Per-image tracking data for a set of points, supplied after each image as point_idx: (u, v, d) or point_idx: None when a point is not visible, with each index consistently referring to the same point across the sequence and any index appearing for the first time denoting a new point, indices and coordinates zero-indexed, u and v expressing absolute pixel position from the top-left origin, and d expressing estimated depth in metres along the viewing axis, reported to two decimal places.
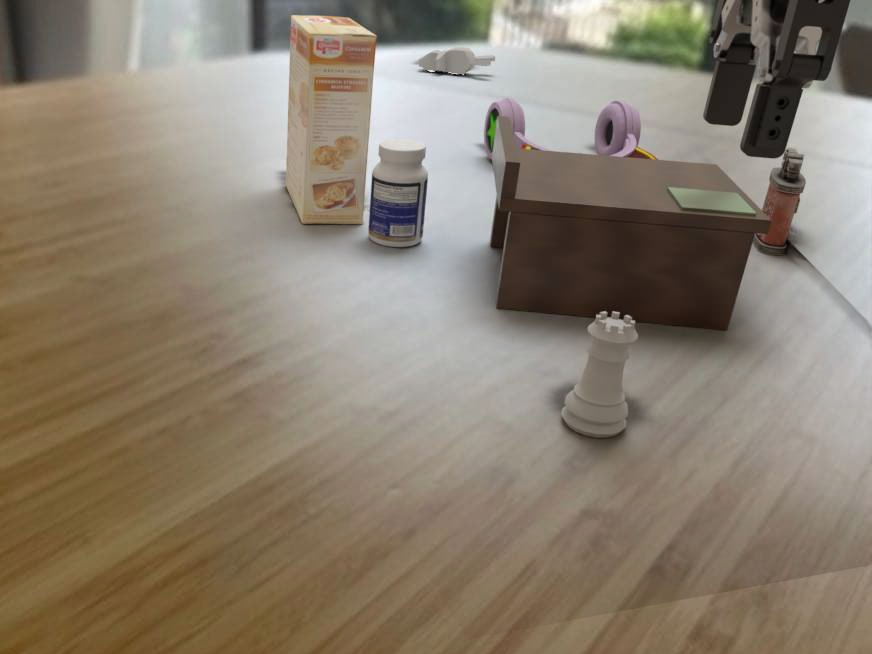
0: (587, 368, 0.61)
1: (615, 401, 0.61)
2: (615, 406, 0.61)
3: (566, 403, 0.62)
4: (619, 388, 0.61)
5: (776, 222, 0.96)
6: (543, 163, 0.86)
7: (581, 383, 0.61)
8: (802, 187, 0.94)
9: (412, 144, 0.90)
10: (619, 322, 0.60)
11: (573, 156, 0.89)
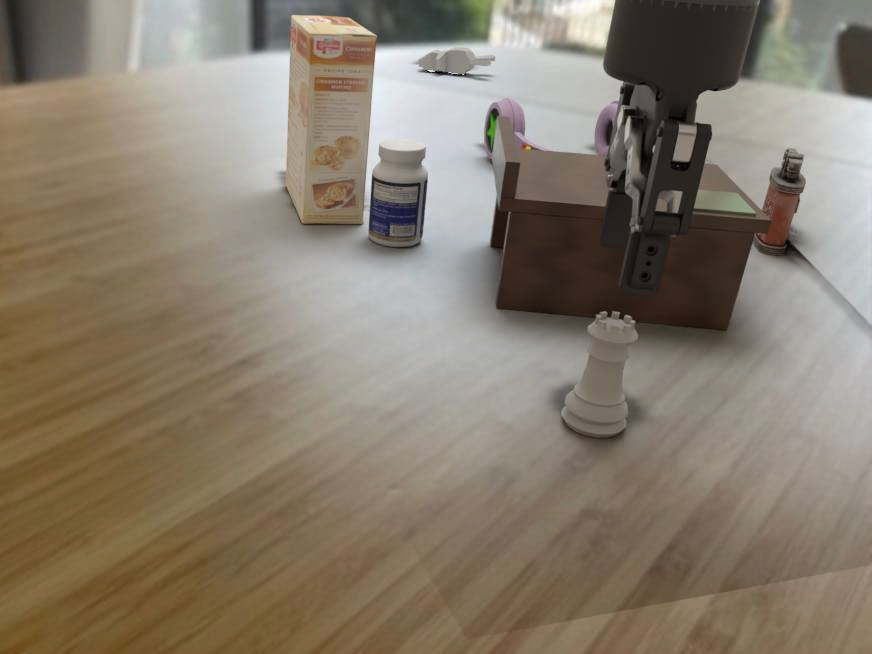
0: (587, 368, 0.61)
1: (615, 401, 0.61)
2: (615, 406, 0.61)
3: (566, 403, 0.62)
4: (619, 388, 0.61)
5: (776, 222, 0.96)
6: (543, 163, 0.86)
7: (581, 383, 0.61)
8: (802, 187, 0.94)
9: (412, 144, 0.90)
10: (619, 322, 0.60)
11: (573, 156, 0.89)
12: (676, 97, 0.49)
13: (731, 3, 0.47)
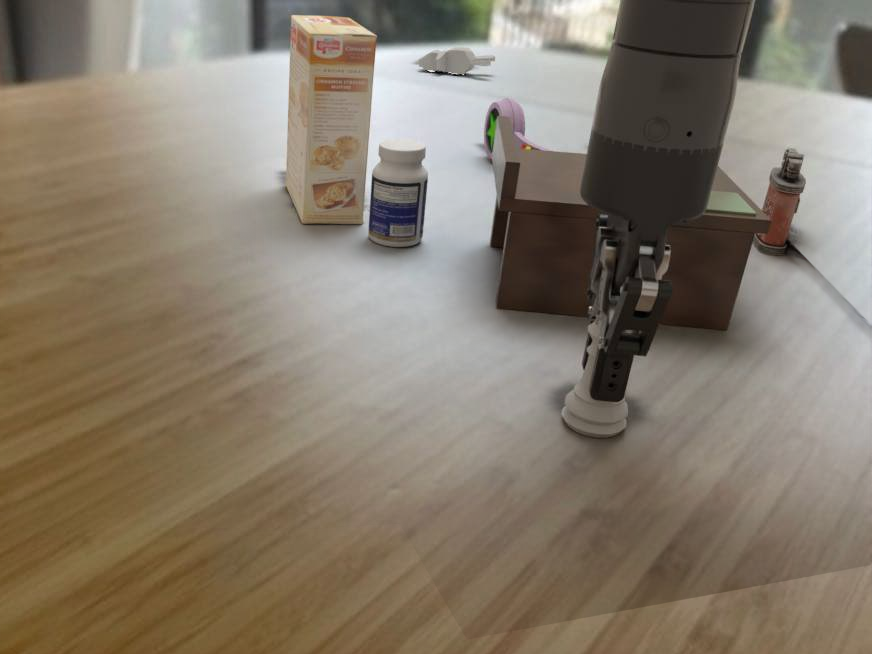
0: (587, 368, 0.61)
1: None
2: (615, 406, 0.61)
3: (566, 403, 0.62)
4: None
5: (776, 222, 0.96)
6: (543, 163, 0.86)
7: (581, 383, 0.61)
8: (802, 187, 0.94)
9: (412, 144, 0.90)
10: None
11: (573, 156, 0.89)
12: (647, 229, 0.53)
13: (696, 147, 0.50)
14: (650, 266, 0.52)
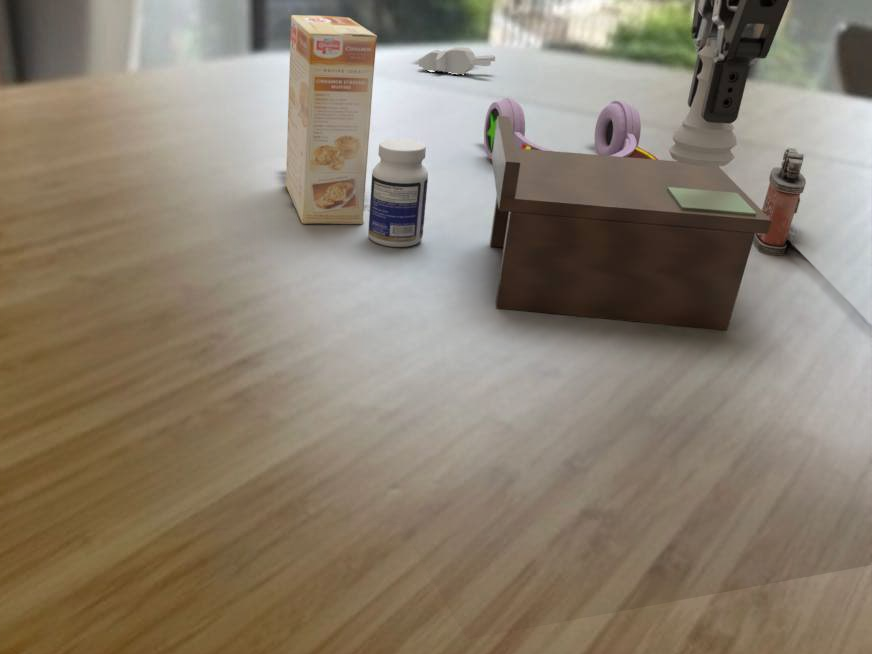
0: (697, 96, 0.62)
1: (725, 127, 0.62)
2: (725, 132, 0.62)
3: (675, 137, 0.63)
4: None
5: (776, 222, 0.96)
6: (543, 163, 0.86)
7: (690, 113, 0.63)
8: (802, 187, 0.94)
9: (412, 144, 0.90)
10: None
11: (573, 156, 0.89)
12: None
13: None
14: None
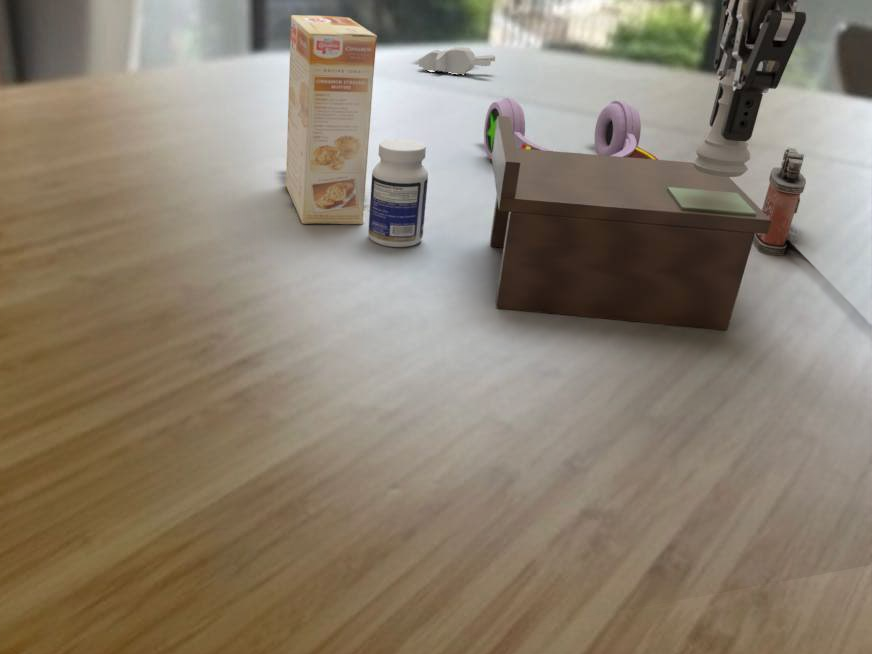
0: (718, 117, 0.74)
1: (741, 144, 0.74)
2: (741, 148, 0.74)
3: (698, 151, 0.75)
4: None
5: (776, 222, 0.96)
6: (543, 163, 0.86)
7: (712, 132, 0.75)
8: (802, 187, 0.94)
9: (412, 144, 0.90)
10: None
11: (573, 156, 0.89)
12: None
13: None
14: (786, 4, 0.65)
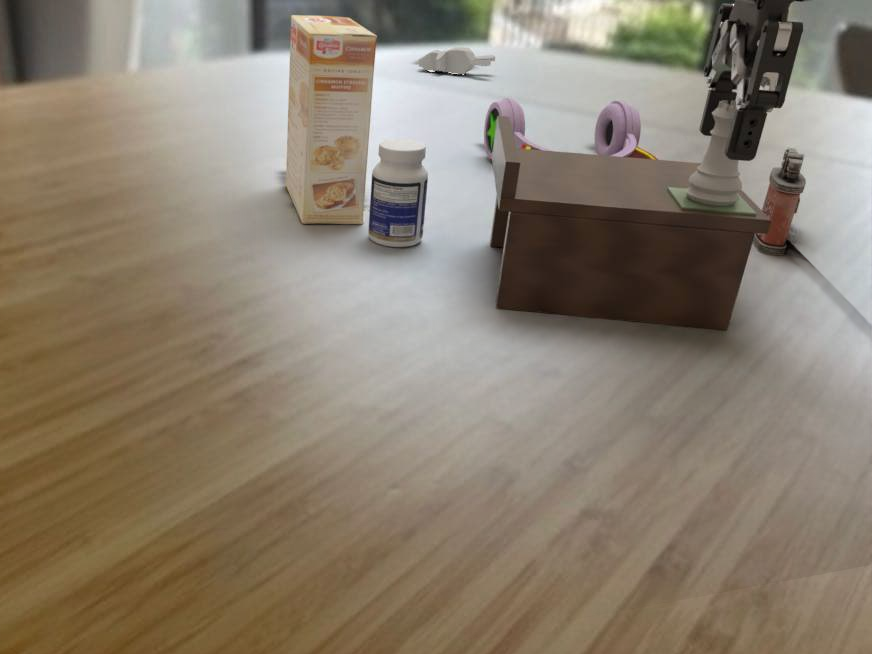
0: (710, 148, 0.75)
1: (733, 174, 0.75)
2: (733, 178, 0.75)
3: (691, 180, 0.77)
4: (736, 163, 0.75)
5: (776, 222, 0.96)
6: (543, 163, 0.86)
7: (704, 162, 0.76)
8: (802, 187, 0.94)
9: (412, 144, 0.90)
10: None
11: (573, 156, 0.89)
12: (774, 5, 0.67)
13: None
14: None
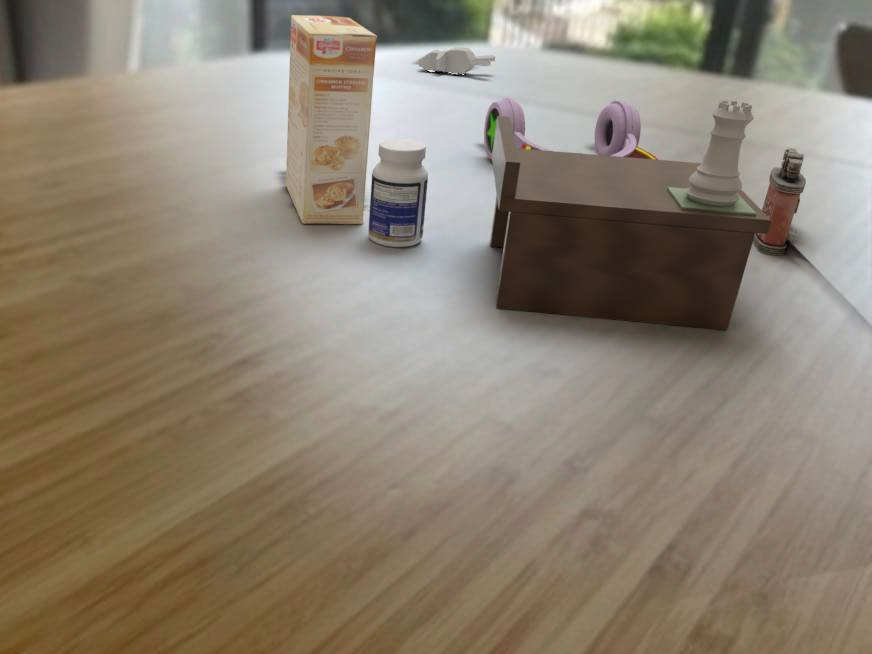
0: (710, 148, 0.75)
1: (733, 174, 0.75)
2: (733, 178, 0.75)
3: (691, 180, 0.77)
4: (736, 163, 0.75)
5: (776, 222, 0.96)
6: (543, 163, 0.86)
7: (704, 162, 0.76)
8: (802, 187, 0.94)
9: (412, 144, 0.90)
10: None
11: (573, 156, 0.89)
12: None
13: None
14: None
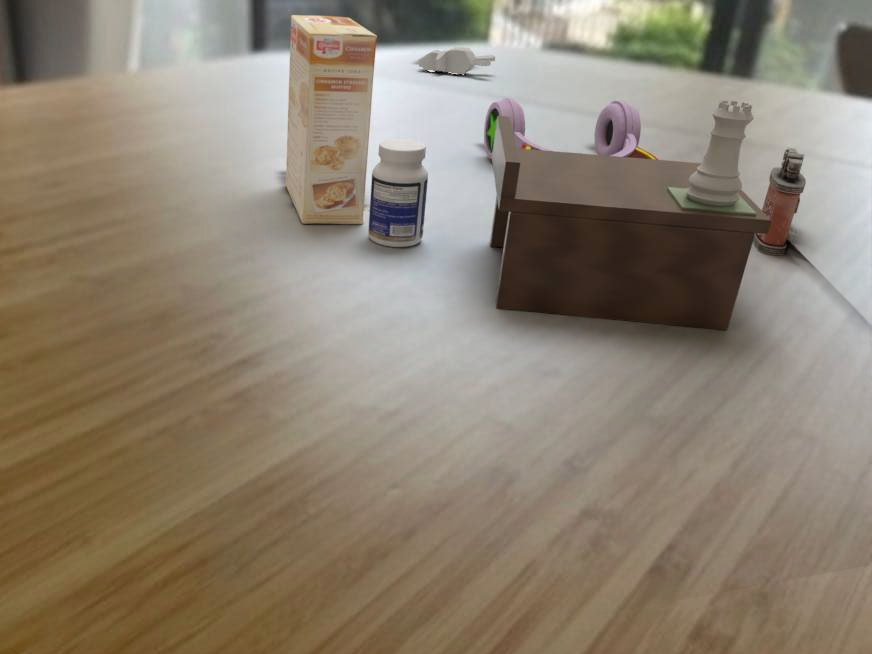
0: (710, 148, 0.75)
1: (733, 174, 0.75)
2: (733, 178, 0.75)
3: (691, 180, 0.77)
4: (736, 163, 0.75)
5: (776, 222, 0.96)
6: (543, 163, 0.86)
7: (704, 162, 0.76)
8: (802, 187, 0.94)
9: (412, 144, 0.90)
10: None
11: (573, 156, 0.89)
12: None
13: None
14: None
